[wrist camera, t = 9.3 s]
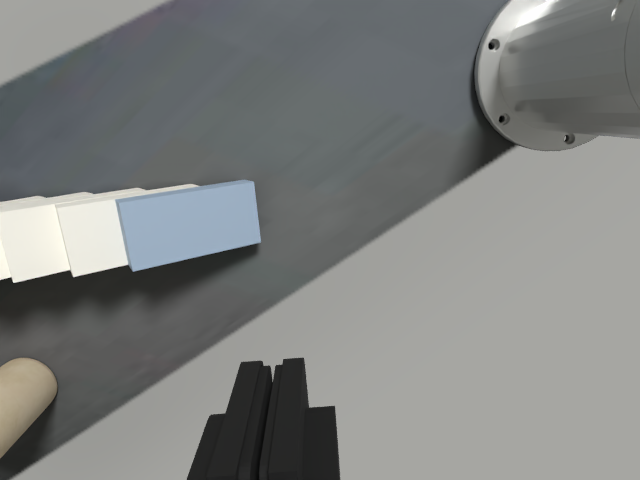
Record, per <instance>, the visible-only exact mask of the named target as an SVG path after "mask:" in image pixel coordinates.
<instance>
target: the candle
mask: <svg viewBox="0 0 640 480" xmlns="http://www.w3.org/2000/svg"><path fill="white" fill-rule="evenodd" d="M57 388H58V386H57V380H56V378H55V376H54V374H53V372H52V371H51V370H50V369H49V368H48V367H47V366H46V365H45V364H43V363H41V362H39V361H37V360H34V359H31V358H17V359H13V360H11V361H9V362H7V363H5V364H4V365H3V366H1V367H0V458H1V457H2V456H3V455H4V454H5V453H6V452H7V451H8V450H9V448H10V447H11V446H12V445H13V444H14V443H15V442H16V441H17V440H18V439H19V437H20V436H21V435H22V434H23V433H24V432H25V431H26V430H27V429H28V428H29V426H30V425H31V424H32V423H33V422H34V421H35V420H36V419H37V418H38V417H39V415H40V414H41V413H42V412H43V411H44V410H45V409H46V408H47V407H48V406H49V404H50V403H51V402H52V401H53V399H54V398H55V396H56V393H57Z"/></svg>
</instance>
